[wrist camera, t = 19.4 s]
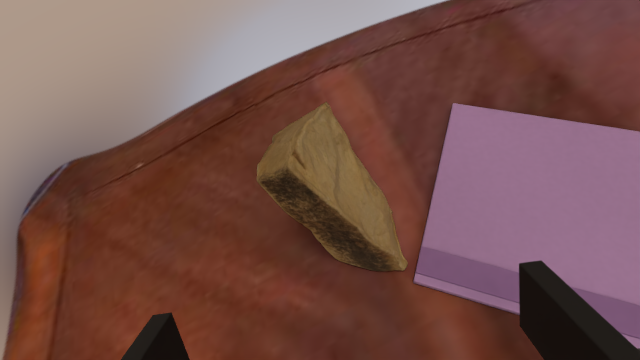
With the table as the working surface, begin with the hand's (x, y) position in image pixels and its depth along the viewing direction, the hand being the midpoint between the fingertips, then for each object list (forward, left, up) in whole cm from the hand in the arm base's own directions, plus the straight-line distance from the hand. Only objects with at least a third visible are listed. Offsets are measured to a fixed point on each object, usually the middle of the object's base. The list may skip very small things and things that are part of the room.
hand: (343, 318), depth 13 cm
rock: (-3, +8, -7) cm, 11 cm away
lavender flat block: (+12, +10, -7) cm, 17 cm away
